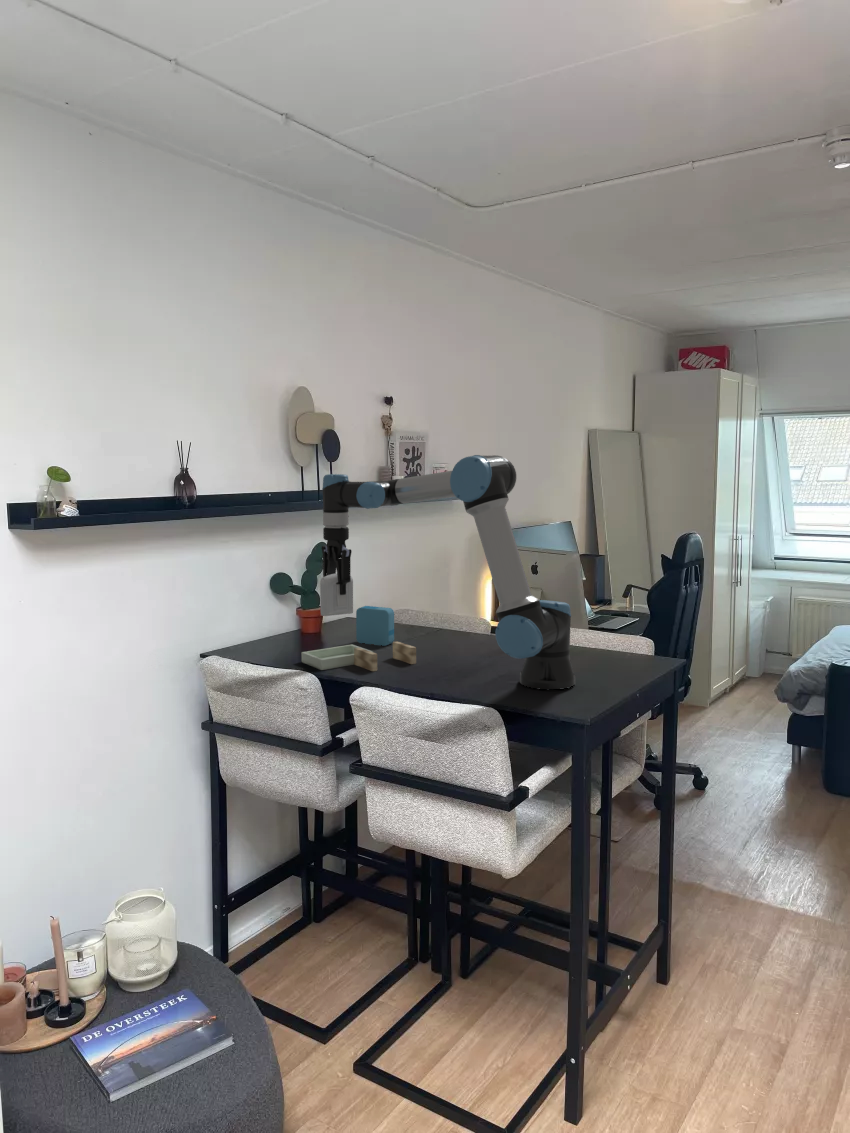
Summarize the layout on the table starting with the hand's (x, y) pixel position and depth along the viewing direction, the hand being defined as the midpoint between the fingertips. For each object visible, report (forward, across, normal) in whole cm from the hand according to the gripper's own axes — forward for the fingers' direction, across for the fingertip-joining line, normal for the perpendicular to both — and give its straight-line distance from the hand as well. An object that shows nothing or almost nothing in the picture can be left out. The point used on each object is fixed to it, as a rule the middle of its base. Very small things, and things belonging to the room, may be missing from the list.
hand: (336, 603), depth 255 cm
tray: (+18, 0, 0) cm, 18 cm away
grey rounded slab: (+3, 0, 0) cm, 3 cm away
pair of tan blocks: (+18, -11, -10) cm, 23 cm away
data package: (+18, +14, -23) cm, 32 cm away
